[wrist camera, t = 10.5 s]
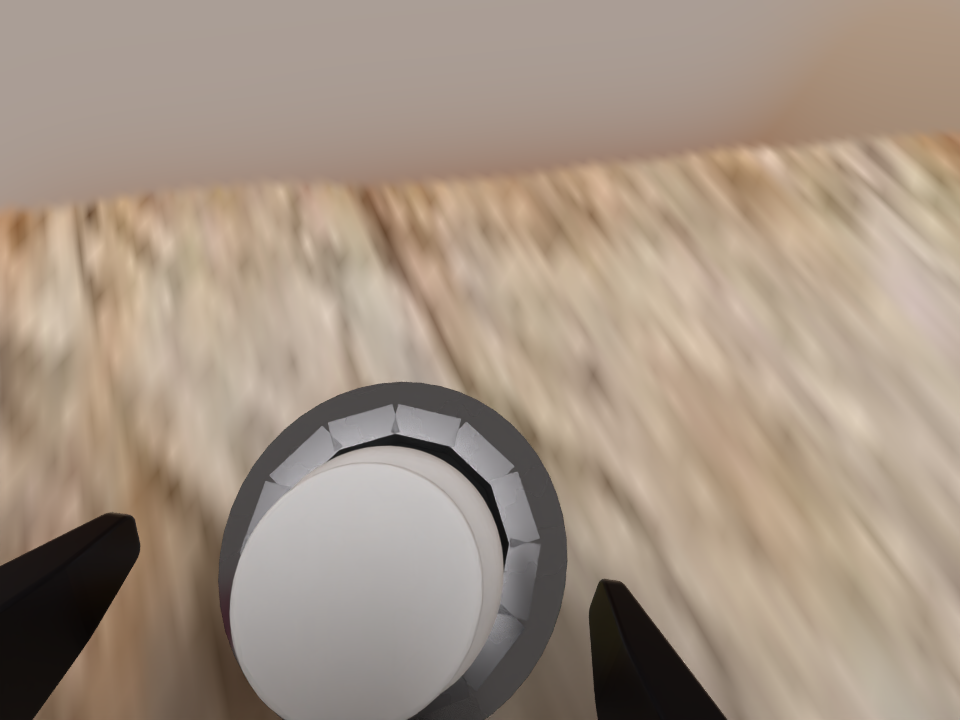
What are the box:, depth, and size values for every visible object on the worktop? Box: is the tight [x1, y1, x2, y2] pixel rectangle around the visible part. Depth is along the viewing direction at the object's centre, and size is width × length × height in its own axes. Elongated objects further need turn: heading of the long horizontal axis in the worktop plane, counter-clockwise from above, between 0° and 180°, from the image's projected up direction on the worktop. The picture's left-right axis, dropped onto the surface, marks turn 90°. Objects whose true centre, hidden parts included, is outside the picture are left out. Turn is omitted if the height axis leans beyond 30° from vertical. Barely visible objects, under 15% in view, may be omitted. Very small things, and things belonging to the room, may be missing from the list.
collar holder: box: [218, 382, 567, 720], centre depth 16 cm, size 12×12×3 cm
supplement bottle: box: [230, 446, 504, 720], centre depth 12 cm, size 5×5×10 cm
